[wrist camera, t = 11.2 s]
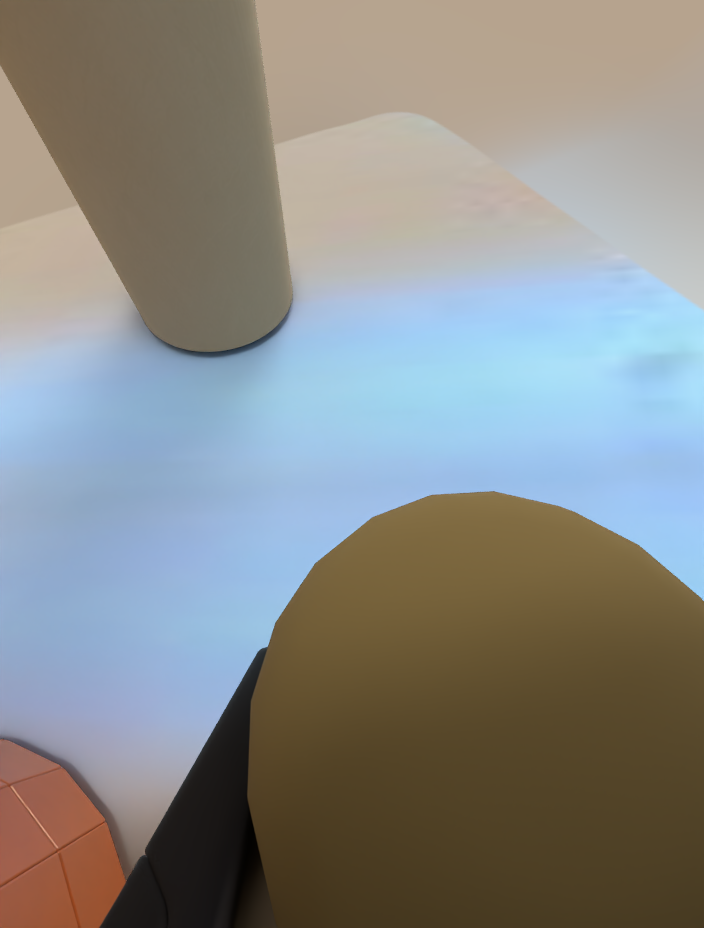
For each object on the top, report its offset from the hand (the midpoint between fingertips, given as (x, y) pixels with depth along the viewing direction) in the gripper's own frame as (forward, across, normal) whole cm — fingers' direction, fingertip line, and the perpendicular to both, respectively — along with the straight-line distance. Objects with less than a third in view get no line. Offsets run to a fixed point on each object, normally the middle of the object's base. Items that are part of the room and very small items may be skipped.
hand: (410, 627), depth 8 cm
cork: (+4, 0, +6) cm, 7 cm away
